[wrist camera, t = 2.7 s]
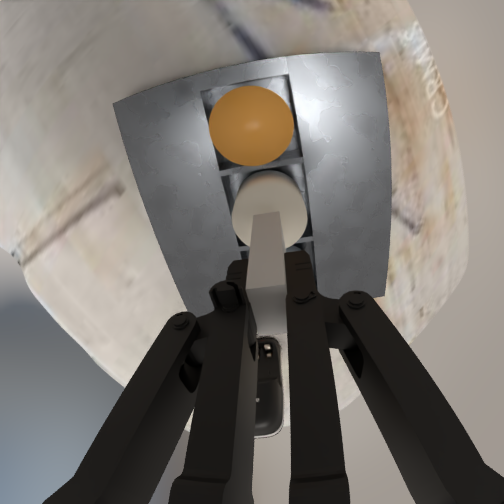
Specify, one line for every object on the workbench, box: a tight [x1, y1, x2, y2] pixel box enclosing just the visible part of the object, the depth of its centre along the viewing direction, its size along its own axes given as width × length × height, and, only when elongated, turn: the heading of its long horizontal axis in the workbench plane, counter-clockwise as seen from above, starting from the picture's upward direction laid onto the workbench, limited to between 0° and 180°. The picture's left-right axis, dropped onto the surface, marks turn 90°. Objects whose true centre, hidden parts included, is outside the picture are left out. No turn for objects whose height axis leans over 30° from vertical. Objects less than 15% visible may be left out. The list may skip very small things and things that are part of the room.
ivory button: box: [232, 170, 307, 249], centre depth 19 cm, size 5×5×3 cm
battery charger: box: [254, 338, 284, 439], centre depth 27 cm, size 7×4×11 cm, turn 108°
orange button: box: [209, 86, 294, 166], centre depth 16 cm, size 5×5×3 cm
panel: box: [113, 52, 392, 318], centre depth 21 cm, size 20×18×3 cm
